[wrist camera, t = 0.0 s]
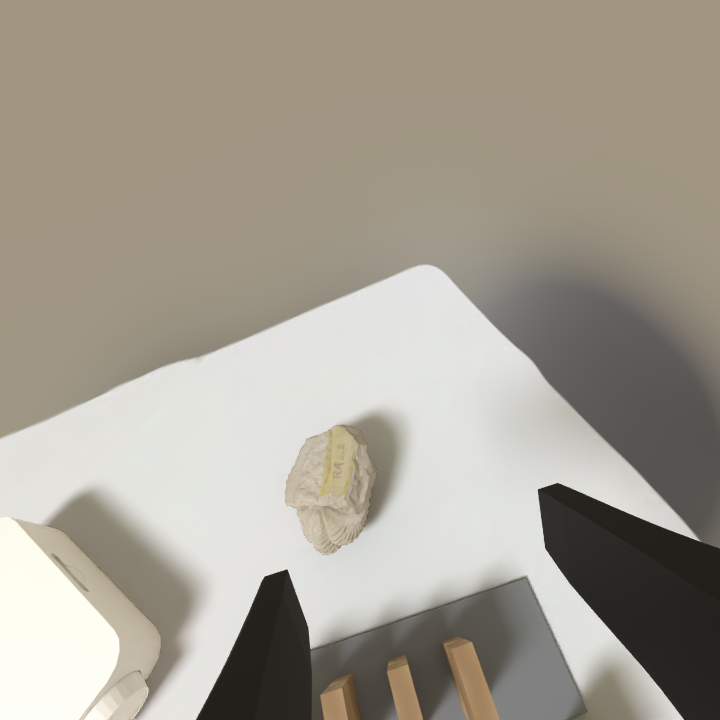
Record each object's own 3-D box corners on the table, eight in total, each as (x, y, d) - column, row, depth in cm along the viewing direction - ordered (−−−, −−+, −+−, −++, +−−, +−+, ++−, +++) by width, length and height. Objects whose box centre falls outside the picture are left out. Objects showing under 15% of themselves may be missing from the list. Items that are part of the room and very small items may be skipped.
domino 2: (405, 654, 34) (407, 664, 28) (425, 727, 32) (433, 758, 25) (388, 660, 34) (386, 671, 28) (407, 734, 31) (410, 766, 25)
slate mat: (585, 710, 32) (587, 711, 31) (255, 836, 29) (253, 839, 29) (524, 578, 37) (525, 578, 37) (242, 674, 35) (241, 675, 34)
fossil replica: (300, 566, 40) (391, 536, 41) (290, 562, 32) (400, 526, 34) (279, 456, 45) (360, 434, 47) (267, 432, 38) (362, 407, 40)
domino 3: (457, 636, 35) (471, 641, 28) (481, 707, 32) (504, 731, 25) (440, 642, 35) (451, 648, 28) (463, 713, 32) (481, 739, 25)
